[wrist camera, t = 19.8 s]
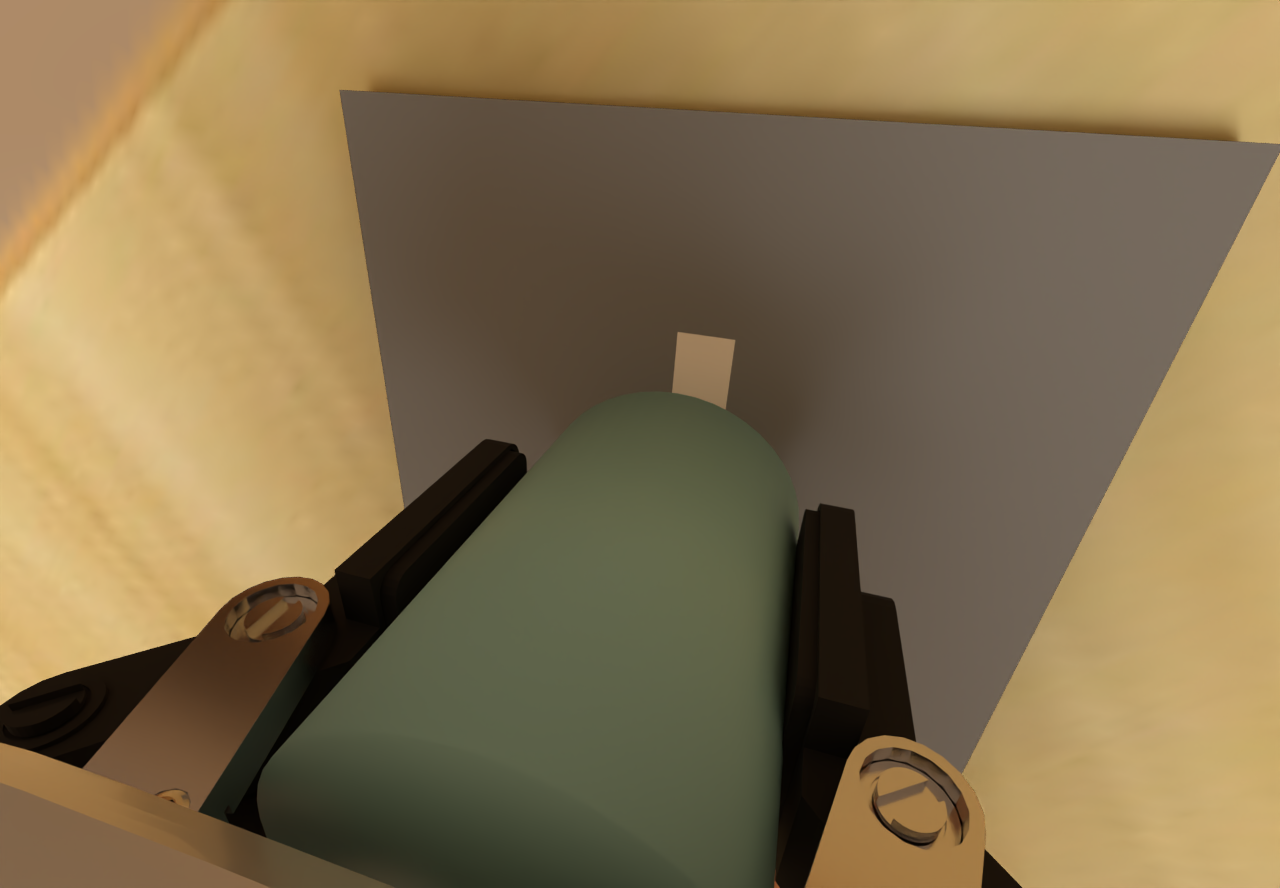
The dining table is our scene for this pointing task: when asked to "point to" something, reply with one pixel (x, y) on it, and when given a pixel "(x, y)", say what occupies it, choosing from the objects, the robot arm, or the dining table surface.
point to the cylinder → (574, 678)
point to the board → (809, 320)
